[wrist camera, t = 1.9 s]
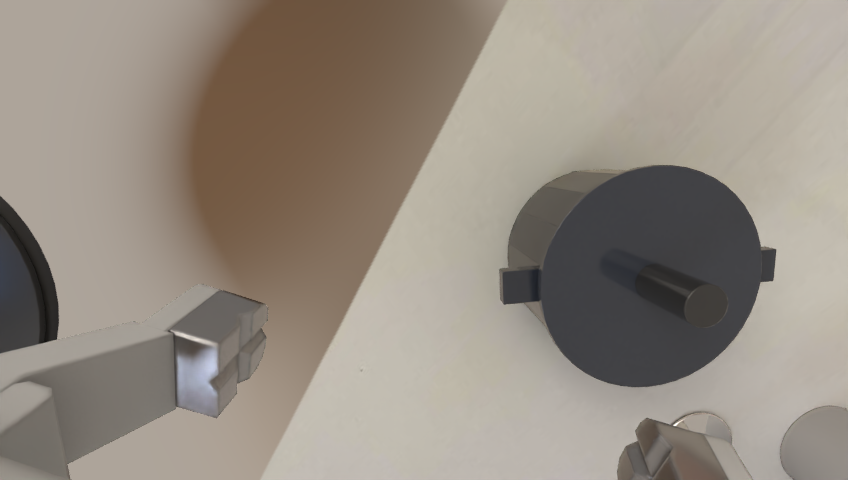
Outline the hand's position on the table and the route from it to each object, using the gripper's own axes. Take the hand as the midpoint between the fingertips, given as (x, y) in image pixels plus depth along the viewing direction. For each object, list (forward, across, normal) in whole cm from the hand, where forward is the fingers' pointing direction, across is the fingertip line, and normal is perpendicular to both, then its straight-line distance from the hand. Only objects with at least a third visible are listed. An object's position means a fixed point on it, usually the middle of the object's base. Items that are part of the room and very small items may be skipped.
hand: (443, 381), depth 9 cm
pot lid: (+21, -13, +5) cm, 25 cm away
